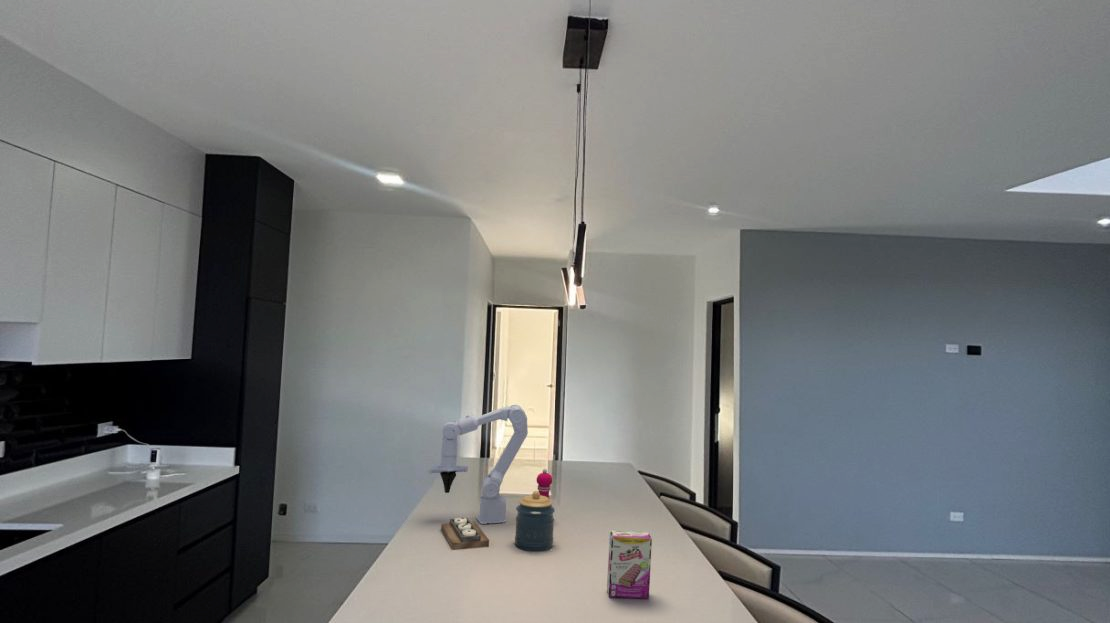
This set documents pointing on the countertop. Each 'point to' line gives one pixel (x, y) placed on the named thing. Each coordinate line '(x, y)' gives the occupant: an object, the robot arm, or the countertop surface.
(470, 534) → the button one
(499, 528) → the countertop surface
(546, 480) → the pepper mill
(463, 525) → the button three
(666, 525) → the countertop surface
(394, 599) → the countertop surface
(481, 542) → the button panel
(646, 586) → the candy bar box
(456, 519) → the button two
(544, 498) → the canister
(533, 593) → the countertop surface
